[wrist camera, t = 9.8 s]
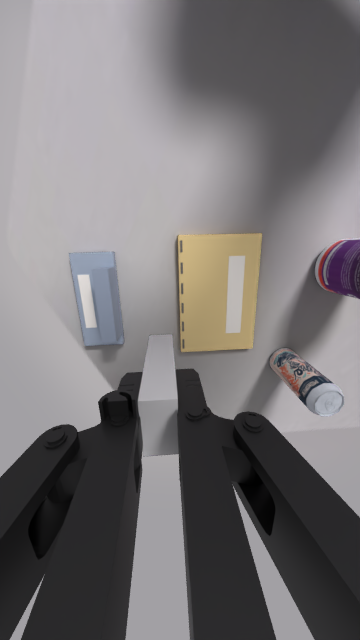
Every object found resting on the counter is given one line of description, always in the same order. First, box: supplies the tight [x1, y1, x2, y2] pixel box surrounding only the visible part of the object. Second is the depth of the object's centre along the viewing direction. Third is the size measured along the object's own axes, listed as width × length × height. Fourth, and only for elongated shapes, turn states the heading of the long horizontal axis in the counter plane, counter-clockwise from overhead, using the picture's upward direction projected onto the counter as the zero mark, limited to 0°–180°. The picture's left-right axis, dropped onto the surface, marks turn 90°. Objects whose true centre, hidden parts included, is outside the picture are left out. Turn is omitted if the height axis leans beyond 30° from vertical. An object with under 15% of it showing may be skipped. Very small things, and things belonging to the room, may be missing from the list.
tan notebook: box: [178, 233, 262, 352], centre depth 34 cm, size 18×12×1 cm, turn 1°
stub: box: [69, 252, 124, 346], centre depth 31 cm, size 14×6×5 cm, turn 1°
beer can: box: [270, 348, 344, 416], centre depth 33 cm, size 5×5×12 cm
